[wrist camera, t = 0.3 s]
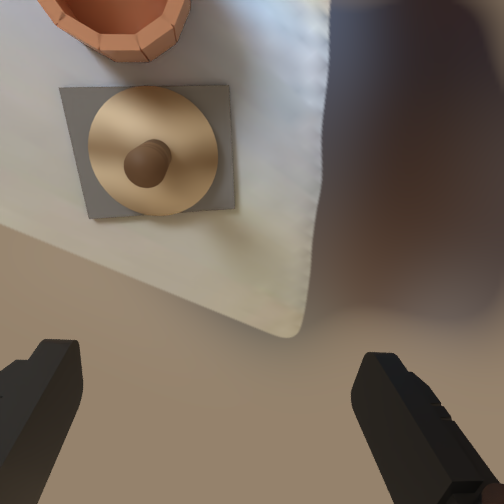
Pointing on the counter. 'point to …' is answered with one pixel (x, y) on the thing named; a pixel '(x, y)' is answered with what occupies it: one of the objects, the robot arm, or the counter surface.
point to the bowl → (121, 25)
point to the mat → (203, 97)
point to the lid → (153, 150)
